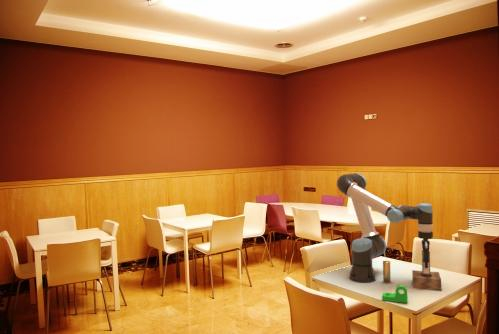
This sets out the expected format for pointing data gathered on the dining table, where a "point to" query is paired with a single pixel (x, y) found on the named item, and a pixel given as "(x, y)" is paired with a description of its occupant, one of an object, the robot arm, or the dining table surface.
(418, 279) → the bore block
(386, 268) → the round bit
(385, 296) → the mechanical part
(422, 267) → the square bit
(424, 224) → the robot arm
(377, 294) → the dining table surface
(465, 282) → the dining table surface
